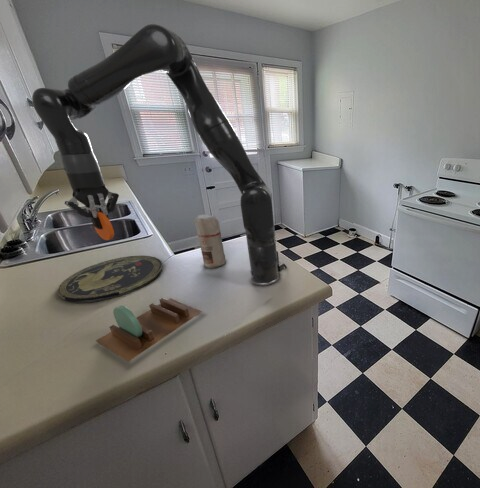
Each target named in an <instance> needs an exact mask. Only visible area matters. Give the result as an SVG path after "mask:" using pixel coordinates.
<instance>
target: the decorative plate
mask: <svg viewBox="0 0 480 488" xmlns="http://www.w3.org/2000/svg"><path fill="white" fill-rule="evenodd" d="M163 269H164V264H163V262H162V261H161V260H160V259H159V258H157V257H156V256H151V255H129V256H122V257H118V258H112V259H109V260H105V261H100V262H98V263H96V264H92V265H90V266H88V267H85V268H82V269H80V270H79V271H76V272H74V273H73V274H71V275H70V276H68V277H67V278H65V279H64V280H63V281H62V282H61V284H60V285H59V286H58V289H57V292H58V297H59V298H60V299H61V300H62V301H65V302H67V303H75V304H79V303H80V304H83V303H93V302H94V303H95V302H101V301H106V300H111V299H113V298H117V297H121V296H123V295H126V294H131V293H133V292H134V291H137V290H139V289H141V288H143V287H145V286H147V285H148V284H150V283H152V282H153V281H154V280H156V278H158V277H159V276H160V275H161V273H162V272H163Z"/></svg>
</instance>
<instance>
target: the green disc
mask: <svg viewBox="0 0 480 488" xmlns="http://www.w3.org/2000/svg"><path fill="white" fill-rule="evenodd" d="M112 313H113V318H114V320H115V322H116V324H117V325H118V327H120V328H121V329H122V330H124V331H126V332H128V333H129V334H131V335H133V336H135V337H137V338H139V337H141V336H142V328H141V325H140V323H139V321H138V319H137V315H135V314H134V313H133V312H132V310H130V309H129V308H128V307H127V306H126V305H123V304H122V305H121V304H120V305H118V306H116V307H115V308H114V309H113V312H112Z"/></svg>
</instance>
